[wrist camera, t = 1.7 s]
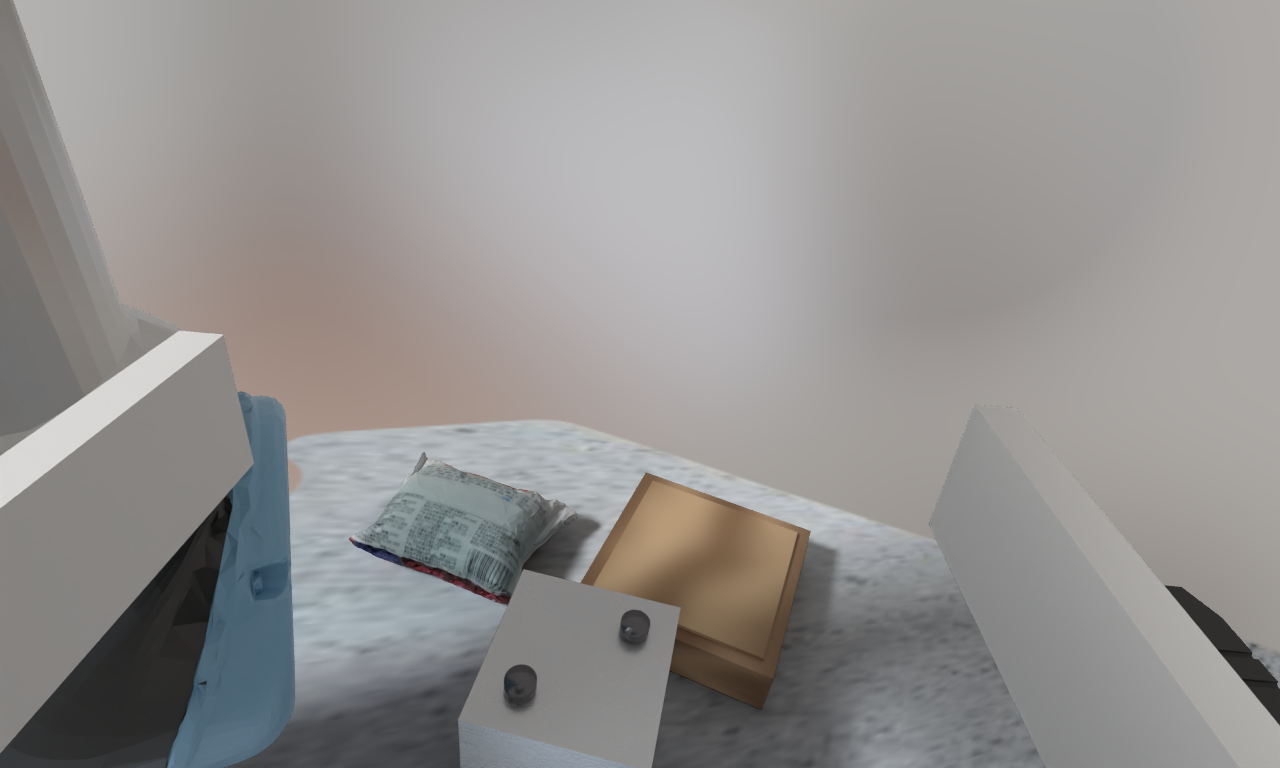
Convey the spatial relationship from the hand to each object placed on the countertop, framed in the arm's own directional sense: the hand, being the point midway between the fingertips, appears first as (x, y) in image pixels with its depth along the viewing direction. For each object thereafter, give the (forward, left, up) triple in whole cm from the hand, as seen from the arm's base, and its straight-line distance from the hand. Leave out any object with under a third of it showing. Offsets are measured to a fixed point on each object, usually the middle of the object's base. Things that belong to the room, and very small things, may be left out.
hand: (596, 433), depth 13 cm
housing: (-2, +6, -28) cm, 29 cm away
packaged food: (-15, +18, -29) cm, 37 cm away
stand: (0, +21, -28) cm, 35 cm away
